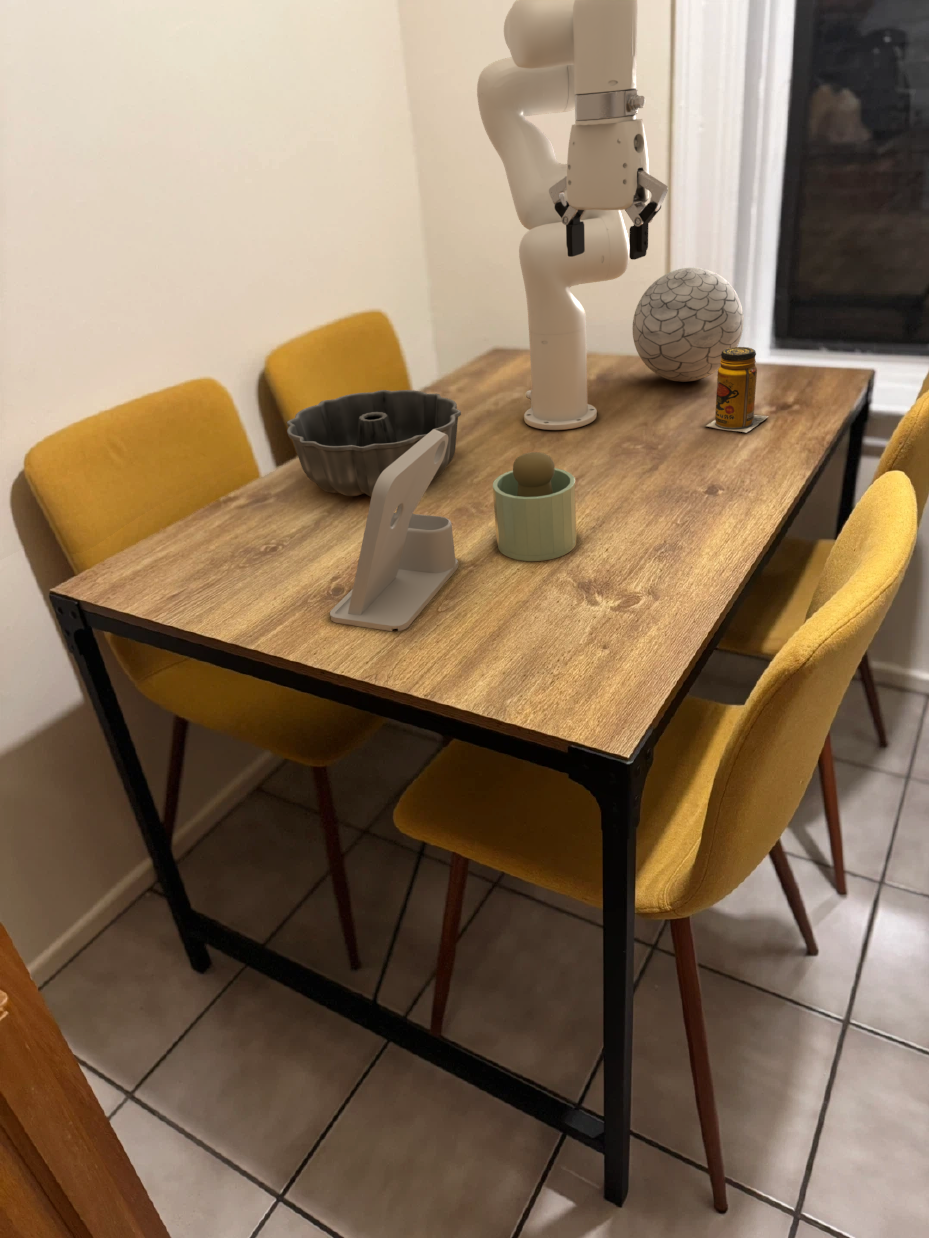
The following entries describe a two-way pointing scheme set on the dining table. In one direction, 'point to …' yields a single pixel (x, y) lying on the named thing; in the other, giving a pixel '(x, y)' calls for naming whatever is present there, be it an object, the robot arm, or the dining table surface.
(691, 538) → the dining table surface
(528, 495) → the brown game pawn
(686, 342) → the decorative sphere
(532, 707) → the dining table surface
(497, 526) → the cup
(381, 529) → the phone holder
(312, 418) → the bundt pan
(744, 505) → the dining table surface
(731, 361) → the condiment
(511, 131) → the robot arm
